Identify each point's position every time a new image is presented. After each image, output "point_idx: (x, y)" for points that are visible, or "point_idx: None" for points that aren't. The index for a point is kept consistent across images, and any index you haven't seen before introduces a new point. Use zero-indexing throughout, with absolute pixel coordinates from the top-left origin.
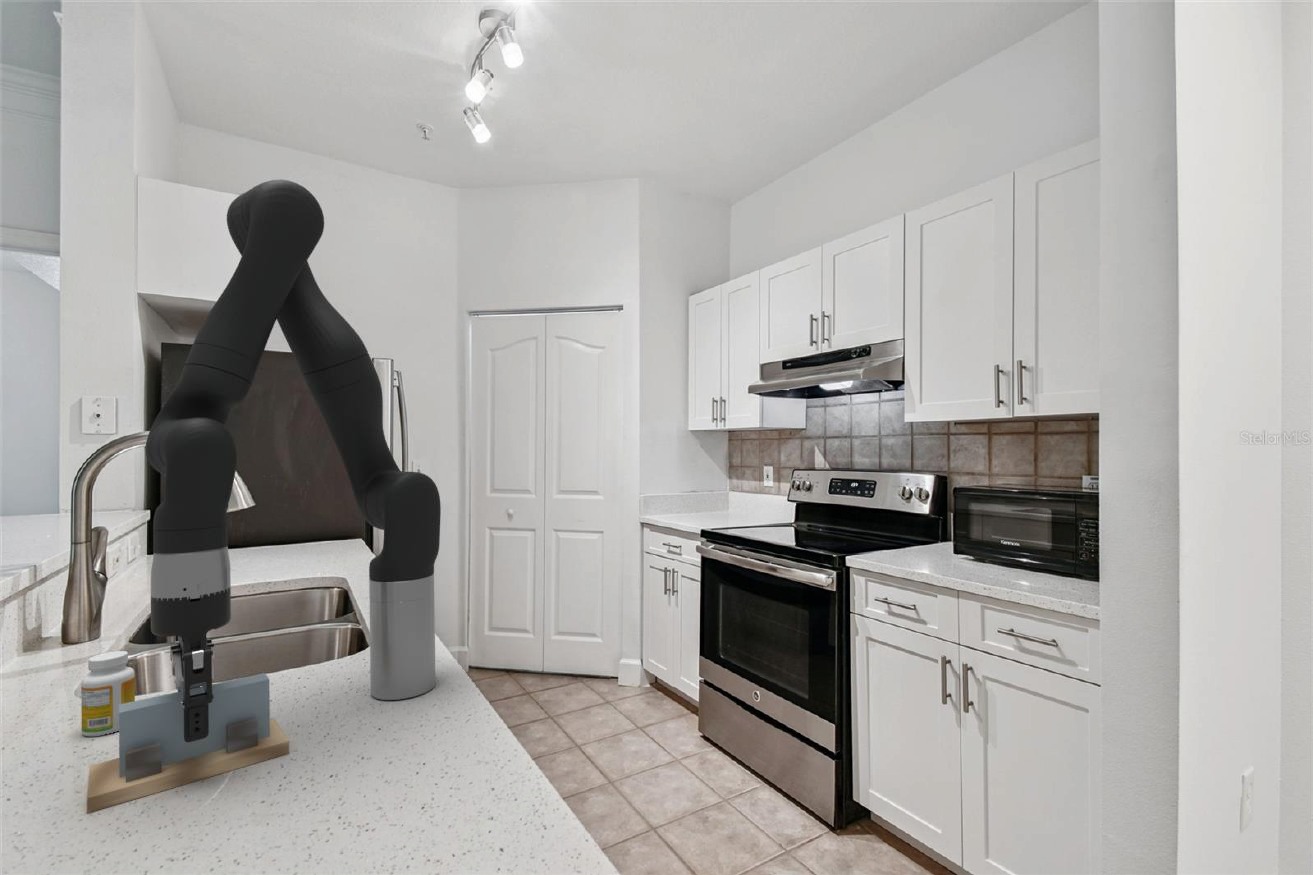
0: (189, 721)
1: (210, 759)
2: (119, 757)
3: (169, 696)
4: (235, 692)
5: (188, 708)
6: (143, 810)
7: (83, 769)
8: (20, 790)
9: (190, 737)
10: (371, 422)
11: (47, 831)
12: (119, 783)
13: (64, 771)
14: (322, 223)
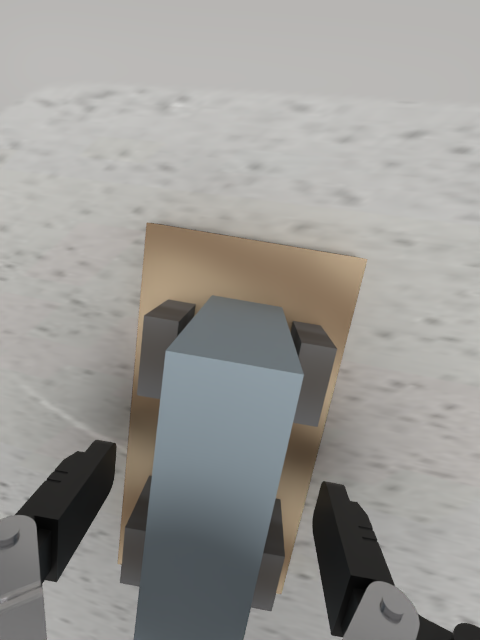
0: (37, 490)
1: (149, 446)
2: (204, 306)
3: (224, 529)
4: None
5: (37, 528)
6: (83, 304)
7: (441, 256)
8: (446, 125)
9: (73, 455)
10: None
11: (133, 151)
12: (177, 289)
13: (475, 221)
14: None
